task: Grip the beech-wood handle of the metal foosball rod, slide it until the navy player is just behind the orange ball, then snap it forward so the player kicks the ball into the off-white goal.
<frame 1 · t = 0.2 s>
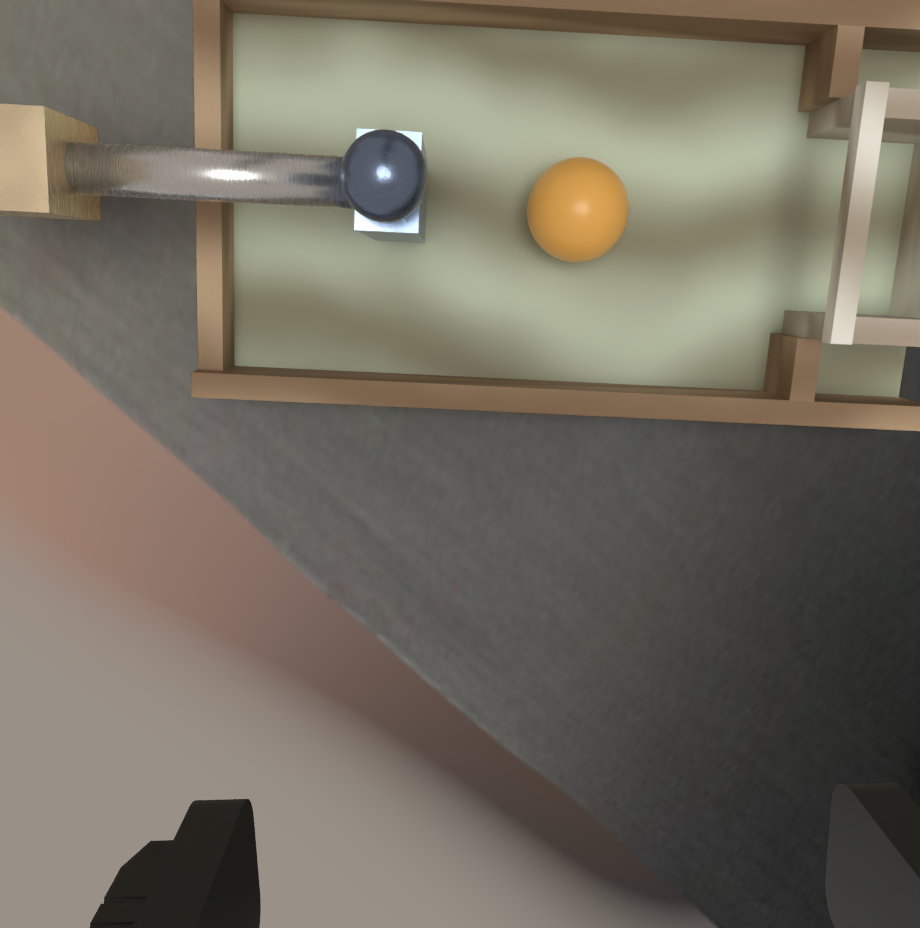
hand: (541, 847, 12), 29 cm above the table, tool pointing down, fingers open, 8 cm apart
foosball rod: (179, 179, 30), point 8 cm above the table, slide at 0.0 cm
pitch: (565, 216, 38), on the table
ball: (577, 210, 34), point 3 cm above the table, touching pitch
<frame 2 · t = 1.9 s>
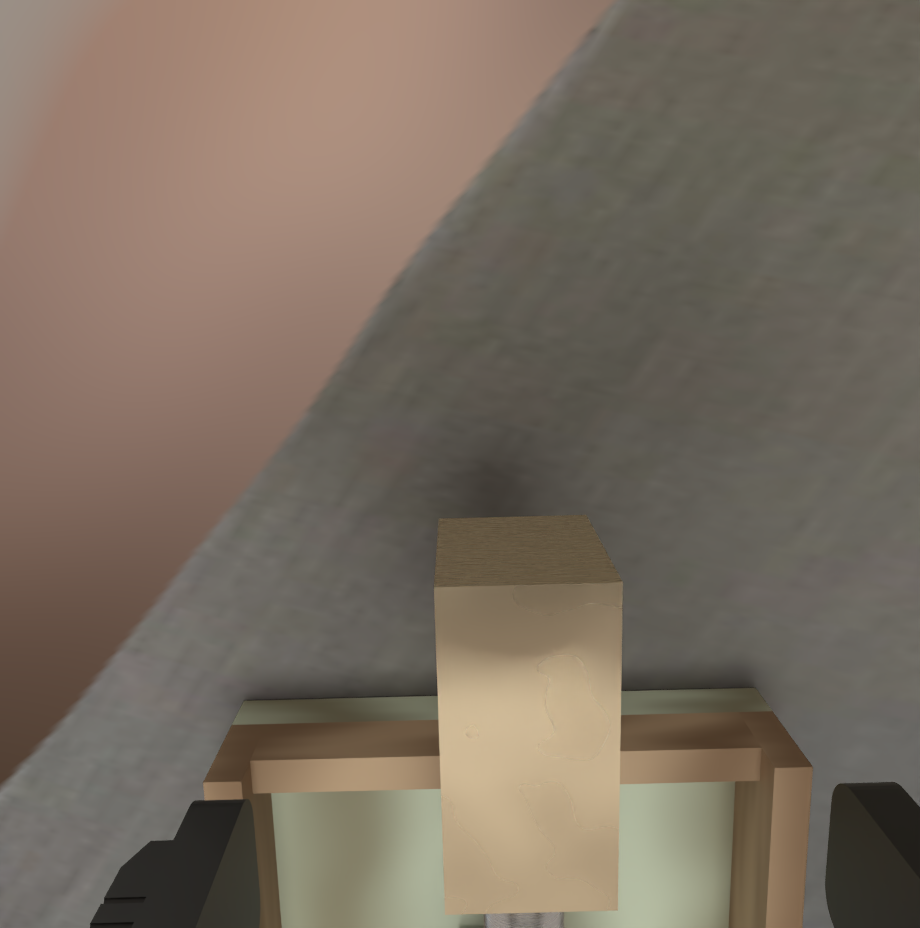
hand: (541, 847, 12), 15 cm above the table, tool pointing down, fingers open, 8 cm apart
foosball rod: (516, 883, 20), point 8 cm above the table, slide at 0.0 cm
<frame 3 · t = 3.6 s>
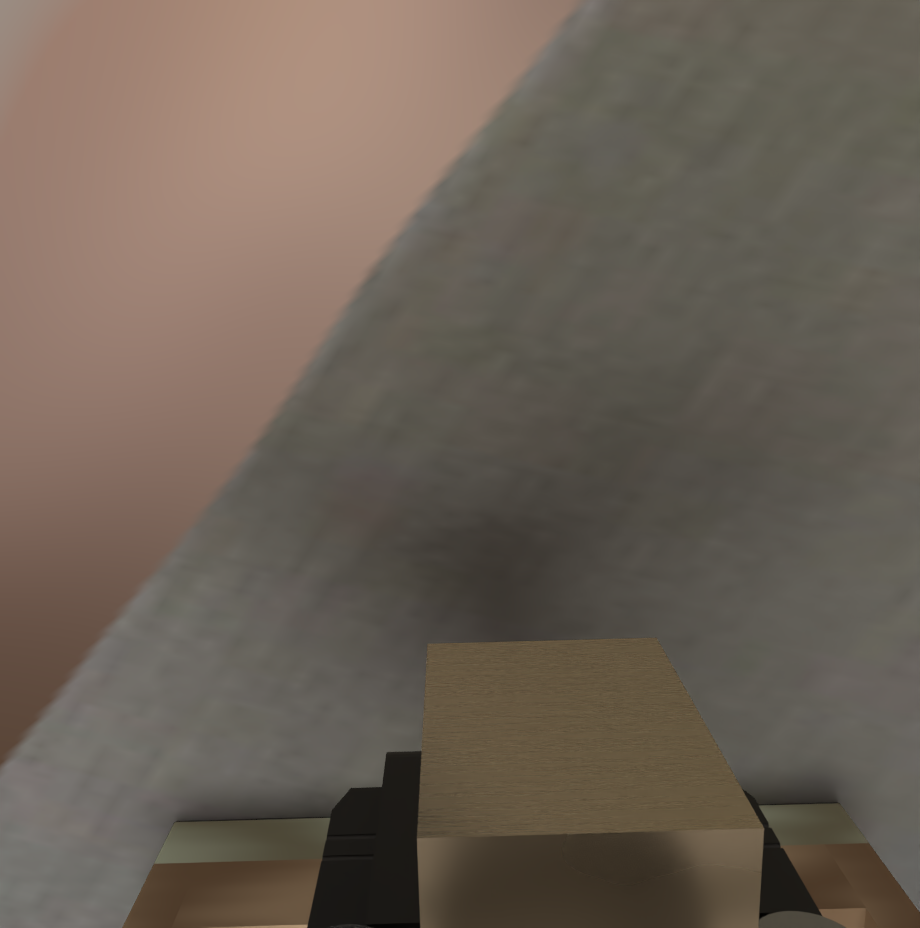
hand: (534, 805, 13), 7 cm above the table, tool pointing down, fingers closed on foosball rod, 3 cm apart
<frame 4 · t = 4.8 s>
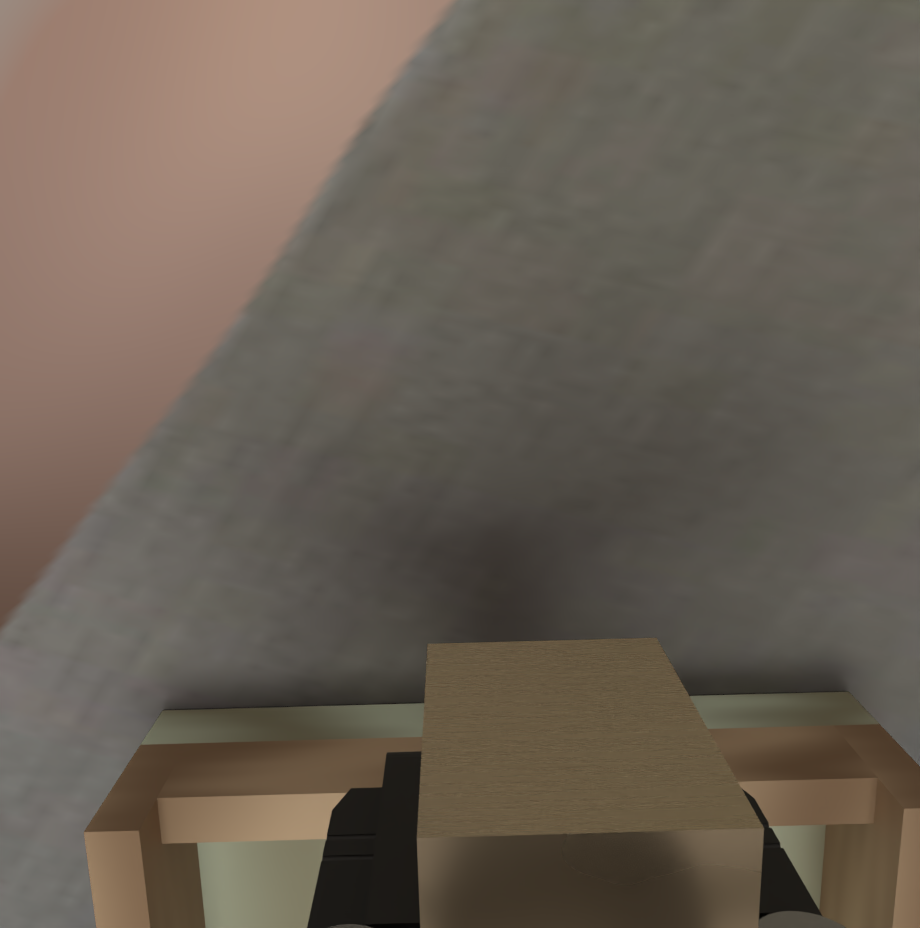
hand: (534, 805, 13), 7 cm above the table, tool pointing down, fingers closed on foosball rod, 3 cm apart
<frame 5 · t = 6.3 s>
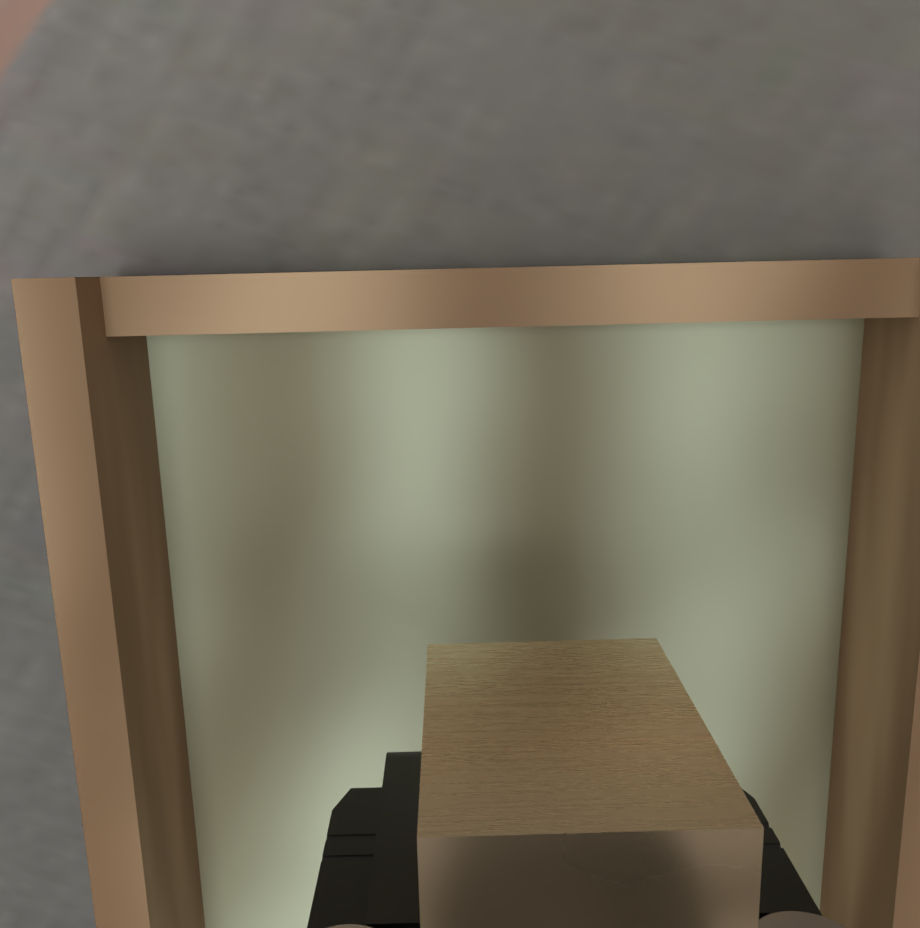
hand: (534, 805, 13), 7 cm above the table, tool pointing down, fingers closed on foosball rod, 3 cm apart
pitch: (509, 893, 21), on the table
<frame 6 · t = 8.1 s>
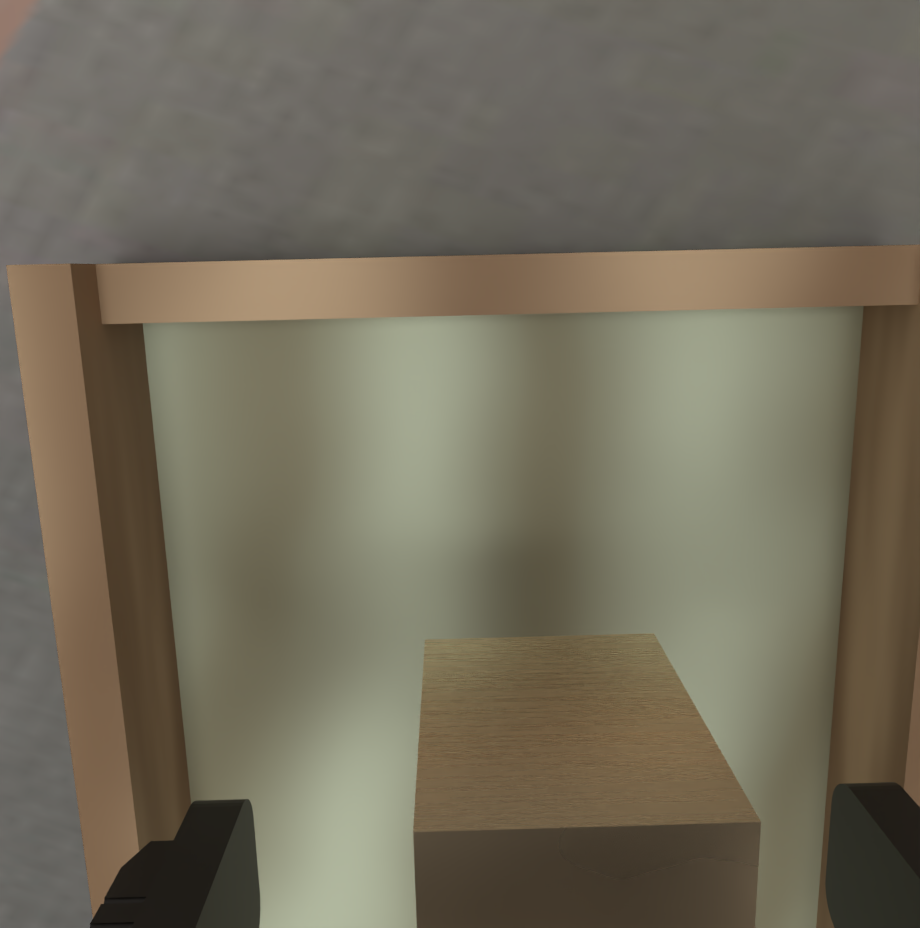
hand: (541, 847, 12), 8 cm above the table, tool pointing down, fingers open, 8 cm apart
pitch: (507, 885, 21), on the table
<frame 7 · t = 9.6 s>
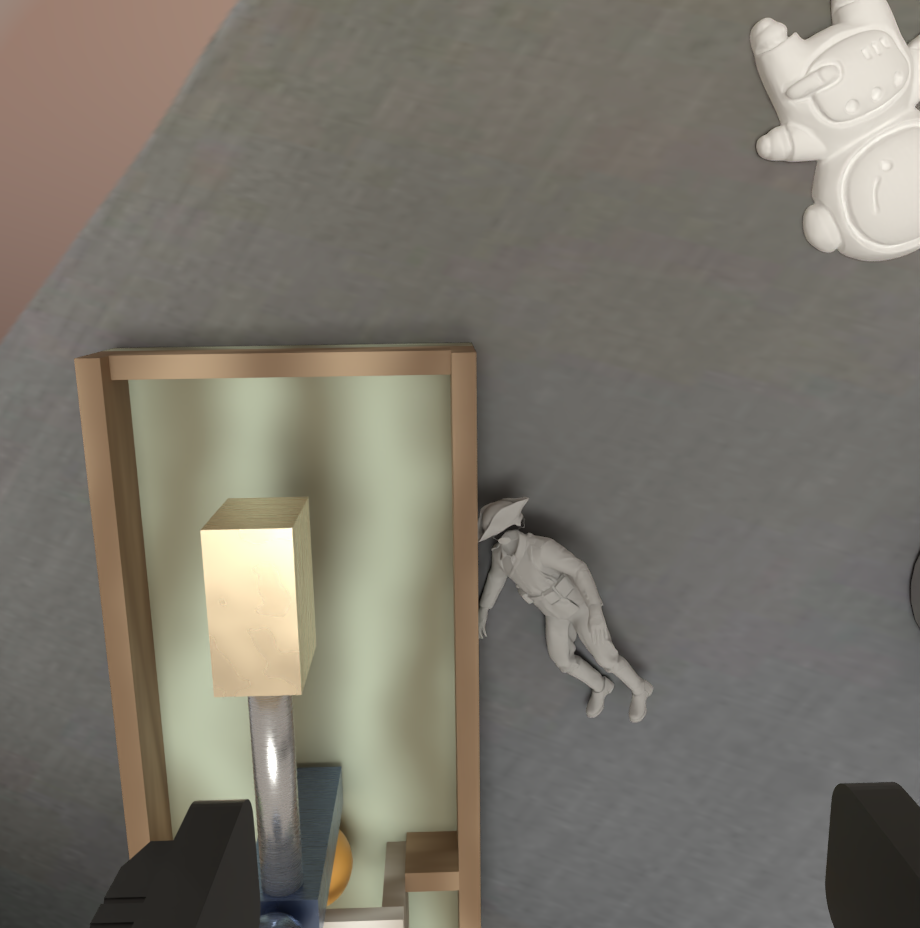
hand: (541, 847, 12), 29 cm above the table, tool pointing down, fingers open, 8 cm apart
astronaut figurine: (851, 125, 39), on the table
foosball rod: (282, 706, 35), point 8 cm above the table, slide at 12.9 cm
pitch: (310, 653, 43), on the table
ball: (310, 864, 41), point 3 cm above the table, tilted 104°, touching pitch
soldier figure: (554, 596, 43), on the table, touching pitch
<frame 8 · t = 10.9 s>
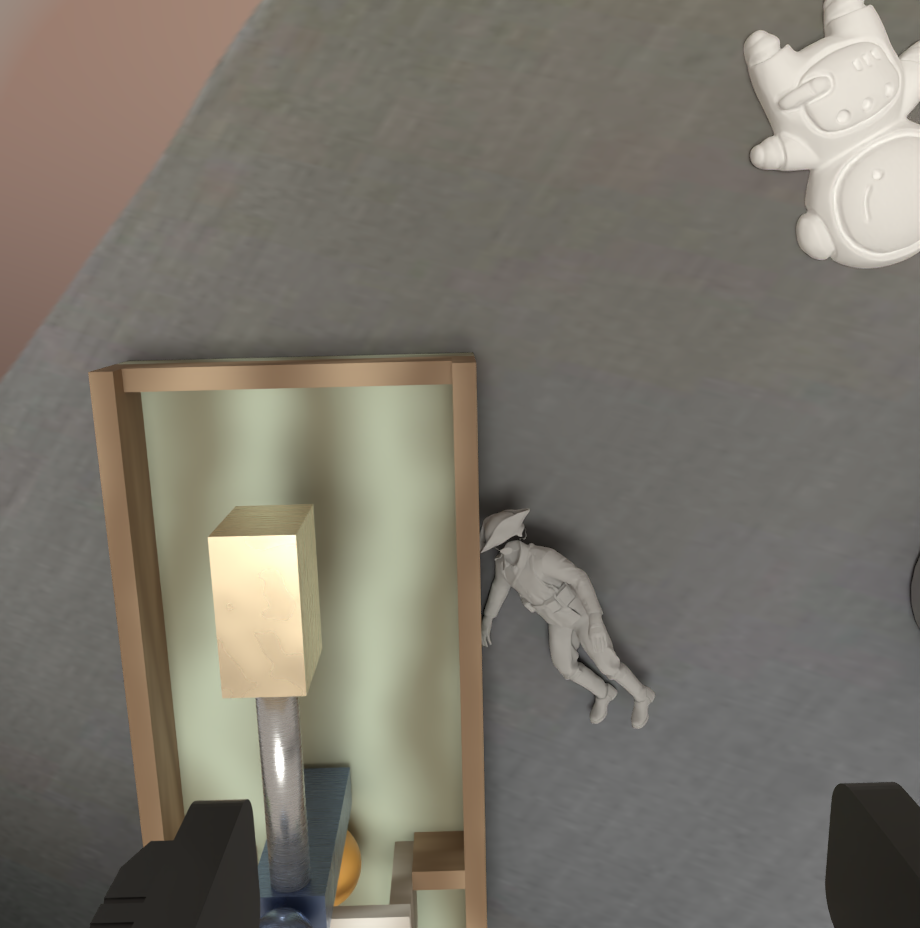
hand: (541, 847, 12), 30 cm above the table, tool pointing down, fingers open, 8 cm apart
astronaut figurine: (844, 135, 39), on the table
foosball rod: (289, 708, 36), point 8 cm above the table, slide at 12.9 cm
pitch: (319, 657, 44), on the table
ball: (320, 865, 42), point 3 cm above the table, tilted 101°, touching pitch
soldier figure: (557, 604, 44), on the table
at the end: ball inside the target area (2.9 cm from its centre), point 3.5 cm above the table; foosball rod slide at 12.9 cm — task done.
